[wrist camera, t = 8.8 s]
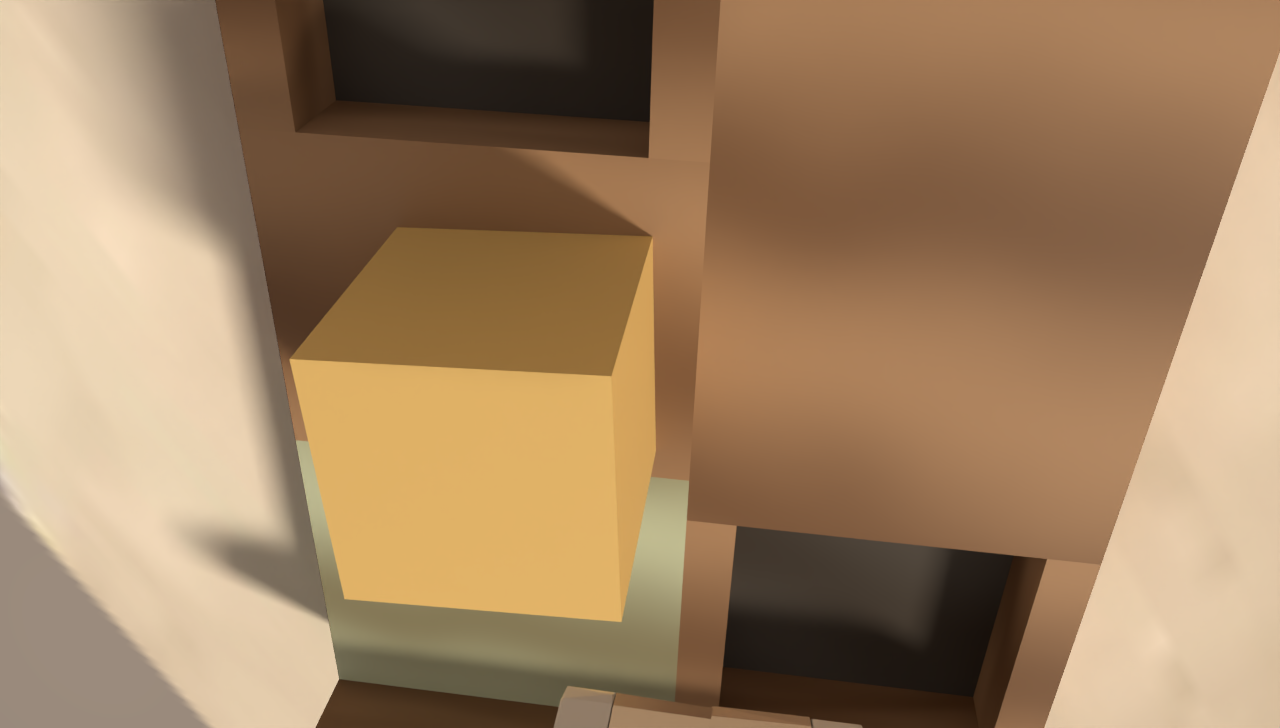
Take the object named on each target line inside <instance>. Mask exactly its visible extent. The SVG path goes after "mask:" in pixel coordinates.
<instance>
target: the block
mask: <svg viewBox="0 0 1280 728" xmlns="http://www.w3.org/2000/svg"><path fill="white" fill-rule="evenodd" d="M289 360H290V364H291V368H292V373H293V377H294V381H295V386H296V390H297V394H298V399H299V403H300V407H301V412H302V416H303V421H304V425H305V429H306V434H307V438H308V442H309V447H310V451H311V455H312V460H313V464H314V468H315V473H316V477H317V481H318V486H319V490H320V495H321V499H322V503H323V508H324V512H325V516H326V521H327V525H328V529H329V534H330V538H331V542H332V547H333V551H334V555H335V560H336V564H337V568H338V573H339V577H340V582H341V586H342V590H343V595H344V599H349V600H361V601H373V602H385V603H397V604H409V605H421V606H433V607H445V608H458V609H470V610H482V611H494V612H506V613H518V614H530V615H542V616H554V617H566V618H578V619H590V620H603V621H615V622H622V617H623V612H624V607H625V602H626V597H627V592H628V587H629V582H630V577H631V572H632V567H633V562H634V557H635V553H636V548H637V543H638V538H639V533H640V528H641V523H642V518H643V513H644V508H645V503H646V498H647V493H648V488H649V483H650V478H651V473H652V468H653V463H654V458H655V453H656V428H655V363H654V298H653V236H627V235H599V234H572V233H544V232H516V231H489V230H461V229H433V228H406V227H397V228H396V229H395V231H394V232H393V233H392V234H391V235H390V237H389V238H388V239H387V240H386V242H385V243H384V244H383V245H382V246H381V248H380V249H379V250H378V251H377V253H376V254H375V255H374V256H373V257H372V259H371V260H370V261H369V262H368V264H367V265H366V266H365V267H364V268H363V270H362V271H361V272H360V273H359V275H358V276H357V277H356V278H355V279H354V281H353V282H352V283H351V284H350V286H349V287H348V288H347V289H346V291H345V292H344V293H343V294H342V295H341V297H340V298H339V299H338V300H337V302H336V303H335V304H334V305H333V306H332V308H331V309H330V310H329V311H328V313H327V314H326V315H325V316H324V317H323V319H322V320H321V321H320V322H319V324H318V325H317V326H316V327H315V328H314V330H313V331H312V332H311V333H310V335H309V336H308V337H307V338H306V339H305V341H304V342H303V343H302V344H301V346H300V347H299V348H298V349H297V350H296V352H295V353H294V354H293V355H292V357H291V358H290V359H289Z"/></svg>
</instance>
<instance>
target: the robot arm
mask: <svg viewBox="0 0 1280 728" xmlns="http://www.w3.org/2000/svg"><path fill="white" fill-rule="evenodd" d="M554 728H863V727H862V725H858V724H850V723H842V722H834V721H826V720H817V719H812V720H811V721H810V717H804V716H796V715H787V714H779V713H770V712H761V711H753V710H744V709H736V708H727V707H718V706H712V708H709V707H703V706H697V705H690V704H684V703H678V702H671V701H665V700H659V699H652V698H646V697H640V696H634V695H627V694H621V693H615V692H608V691H601V690H593V689H586V688H579V687H572V686H567V688H566V690H565V692H564V694H563V696H562V698H561V700H560V704H559V708H558V712H557V716H556V720H555V724H554Z"/></svg>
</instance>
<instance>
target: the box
mask: <svg viewBox="0 0 1280 728" xmlns="http://www.w3.org/2000/svg"><path fill="white" fill-rule="evenodd" d="M215 2H216V7H217V13H218V18H219V24H220V29H221V35H222V40H223V46H224V51H225V56H226V62H227V67H228V73H229V78H230V84H231V89H232V95H233V100H234V106H235V111H236V117H237V122H238V128H239V133H240V139H241V144H242V149H243V155H244V160H245V166H246V171H247V177H248V182H249V188H250V193H251V199H252V204H253V210H254V215H255V221H256V226H257V232H258V237H259V243H260V248H261V253H262V259H263V264H264V270H265V275H266V281H267V286H268V292H269V297H270V303H271V308H272V314H273V319H274V325H275V330H276V336H277V341H278V346H279V352H280V357H281V363H282V368H283V374H284V379H285V385H286V390H287V396H288V401H289V407H290V412H291V418H292V423H293V429H294V434H295V440H296V445H297V450H298V456H299V461H300V467H301V472H302V478H303V483H304V489H305V494H306V500H307V505H308V511H309V516H310V522H311V527H312V533H313V538H314V543H315V549H316V554H317V560H318V565H319V571H320V576H321V582H322V587H323V593H324V598H325V604H326V609H327V615H328V620H329V626H330V631H331V637H332V642H333V647H334V653H335V658H336V664H337V669H338V675H339V681H338V683H337V685H336V687H335V689H334V691H333V693H332V695H331V697H330V699H329V701H328V703H327V705H326V707H325V709H324V712H323V714H322V716H321V718H320V720H319V722H318V724H317V726H316V728H554V724H555V720H556V716H557V712H558V708H559V704H560V700H561V698H562V696H563V694H564V692H565V690H566V688H567V686H572V687H579V688H586V689H593V690H601V691H608V692H615V693H621V694H627V695H634V696H640V697H646V698H652V699H659V700H665V701H671V702H678V703H684V704H690V705H697V706H703V707H709V708H712V706H718V707H727V708H736V709H744V710H753V711H761V712H770V713H779V714H787V715H796V716H804V717H810V721H811V720H812V719H817V720H826V721H834V722H842V723H850V724H858V725H862V727H863V728H1044V727H1045V724H1046V721H1047V718H1048V715H1049V712H1050V709H1051V706H1052V704H1053V701H1054V698H1055V695H1056V692H1057V689H1058V686H1059V684H1060V681H1061V678H1062V675H1063V672H1064V669H1065V666H1066V663H1067V661H1068V658H1069V655H1070V652H1071V649H1072V646H1073V643H1074V640H1075V638H1076V635H1077V632H1078V629H1079V626H1080V623H1081V620H1082V618H1083V615H1084V612H1085V609H1086V606H1087V603H1088V600H1089V597H1090V595H1091V592H1092V589H1093V586H1094V583H1095V580H1096V577H1097V575H1098V572H1099V569H1100V566H1101V563H1102V560H1103V557H1104V554H1105V552H1106V549H1107V546H1108V543H1109V540H1110V537H1111V534H1112V531H1113V529H1114V526H1115V523H1116V520H1117V517H1118V514H1119V511H1120V509H1121V506H1122V503H1123V500H1124V497H1125V494H1126V491H1127V488H1128V486H1129V483H1130V480H1131V477H1132V474H1133V471H1134V468H1135V465H1136V463H1137V460H1138V457H1139V454H1140V451H1141V448H1142V445H1143V443H1144V440H1145V437H1146V434H1147V431H1148V428H1149V425H1150V422H1151V420H1152V417H1153V414H1154V411H1155V408H1156V405H1157V402H1158V400H1159V397H1160V394H1161V391H1162V388H1163V385H1164V382H1165V379H1166V377H1167V374H1168V371H1169V368H1170V365H1171V362H1172V359H1173V356H1174V354H1175V351H1176V348H1177V345H1178V342H1179V339H1180V336H1181V334H1182V331H1183V328H1184V325H1185V322H1186V319H1187V316H1188V313H1189V311H1190V308H1191V305H1192V302H1193V299H1194V296H1195V293H1196V290H1197V288H1198V285H1199V282H1200V279H1201V276H1202V273H1203V270H1204V268H1205V265H1206V262H1207V259H1208V256H1209V253H1210V250H1211V247H1212V245H1213V242H1214V239H1215V236H1216V233H1217V230H1218V227H1219V225H1220V222H1221V219H1222V216H1223V213H1224V210H1225V207H1226V204H1227V202H1228V199H1229V196H1230V193H1231V190H1232V187H1233V184H1234V181H1235V179H1236V176H1237V173H1238V170H1239V167H1240V164H1241V161H1242V159H1243V156H1244V153H1245V150H1246V147H1247V144H1248V141H1249V138H1250V136H1251V133H1252V130H1253V127H1254V124H1255V121H1256V118H1257V115H1258V113H1259V110H1260V107H1261V104H1262V101H1263V98H1264V95H1265V93H1266V90H1267V87H1268V84H1269V81H1270V78H1271V75H1272V72H1273V70H1274V67H1275V64H1276V61H1277V58H1278V55H1279V52H1280V0H215ZM397 227H406V228H433V229H461V230H489V231H516V232H544V233H572V234H599V235H627V236H653V298H654V363H655V428H656V453H655V458H654V463H653V468H652V473H651V478H650V483H649V488H648V493H647V498H646V503H645V508H644V513H643V518H642V523H641V528H640V533H639V538H638V543H637V548H636V553H635V557H634V562H633V567H632V572H631V577H630V582H629V587H628V592H627V597H626V602H625V607H624V612H623V617H622V622H615V621H603V620H590V619H578V618H566V617H554V616H542V615H530V614H518V613H506V612H494V611H482V610H470V609H458V608H445V607H433V606H421V605H409V604H397V603H385V602H373V601H361V600H349V599H344V595H343V590H342V586H341V582H340V577H339V573H338V568H337V564H336V560H335V555H334V551H333V547H332V542H331V538H330V534H329V529H328V525H327V521H326V516H325V512H324V508H323V503H322V499H321V495H320V490H319V486H318V481H317V477H316V473H315V468H314V464H313V460H312V455H311V451H310V447H309V442H308V438H307V434H306V429H305V425H304V421H303V416H302V412H301V407H300V403H299V399H298V394H297V390H296V386H295V381H294V377H293V373H292V368H291V364H290V360H289V359H290V358H291V357H292V355H293V354H294V353H295V352H296V350H297V349H298V348H299V347H300V346H301V344H302V343H303V342H304V341H305V339H306V338H307V337H308V336H309V335H310V333H311V332H312V331H313V330H314V328H315V327H316V326H317V325H318V324H319V322H320V321H321V320H322V319H323V317H324V316H325V315H326V314H327V313H328V311H329V310H330V309H331V308H332V306H333V305H334V304H335V303H336V302H337V300H338V299H339V298H340V297H341V295H342V294H343V293H344V292H345V291H346V289H347V288H348V287H349V286H350V284H351V283H352V282H353V281H354V279H355V278H356V277H357V276H358V275H359V273H360V272H361V271H362V270H363V268H364V267H365V266H366V265H367V264H368V262H369V261H370V260H371V259H372V257H373V256H374V255H375V254H376V253H377V251H378V250H379V249H380V248H381V246H382V245H383V244H384V243H385V242H386V240H387V239H388V238H389V237H390V235H391V234H392V233H393V232H394V231H395V229H396V228H397Z"/></svg>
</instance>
